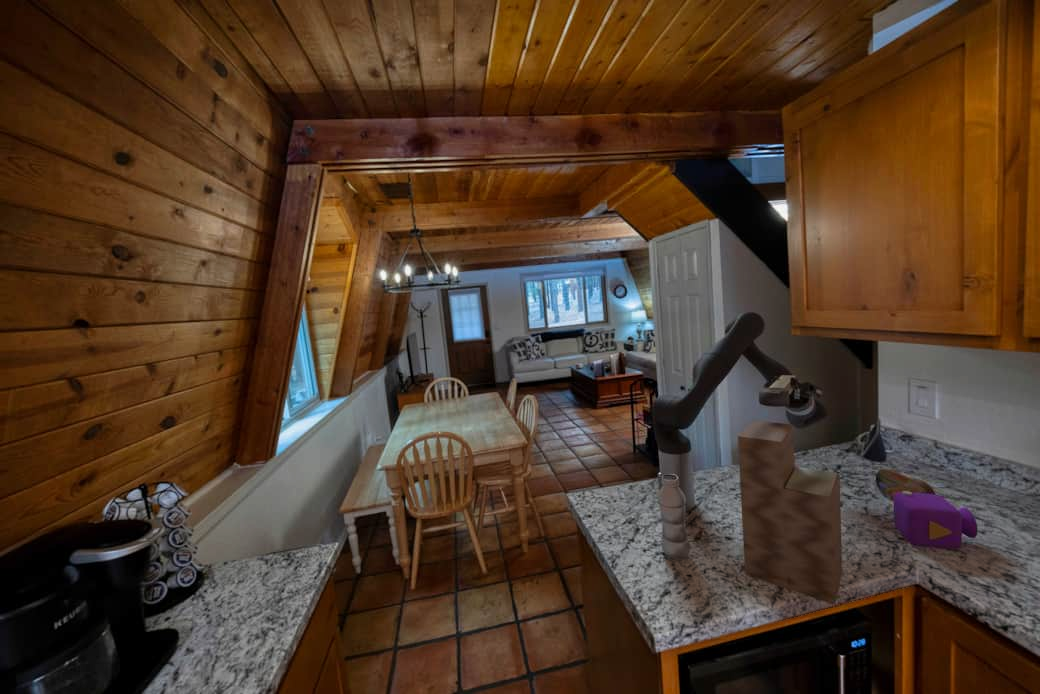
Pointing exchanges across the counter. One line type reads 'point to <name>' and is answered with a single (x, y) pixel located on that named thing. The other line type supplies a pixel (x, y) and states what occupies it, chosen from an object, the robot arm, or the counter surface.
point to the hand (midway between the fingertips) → (783, 380)
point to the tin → (900, 483)
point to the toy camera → (932, 520)
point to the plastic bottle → (673, 518)
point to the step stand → (788, 515)
